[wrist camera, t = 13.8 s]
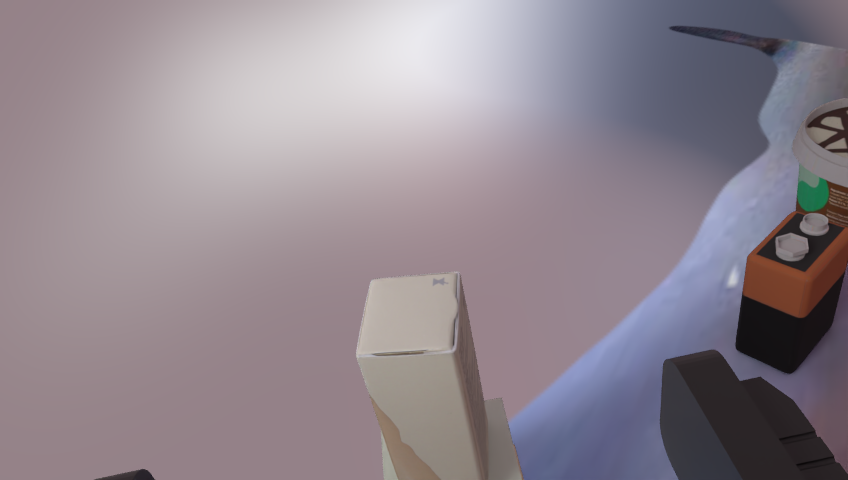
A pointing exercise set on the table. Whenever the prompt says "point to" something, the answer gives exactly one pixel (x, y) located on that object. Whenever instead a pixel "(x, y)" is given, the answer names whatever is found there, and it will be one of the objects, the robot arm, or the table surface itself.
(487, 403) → the tower top
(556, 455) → the table surface
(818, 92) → the table surface
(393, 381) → the box
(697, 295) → the table surface
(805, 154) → the food container
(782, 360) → the battery
